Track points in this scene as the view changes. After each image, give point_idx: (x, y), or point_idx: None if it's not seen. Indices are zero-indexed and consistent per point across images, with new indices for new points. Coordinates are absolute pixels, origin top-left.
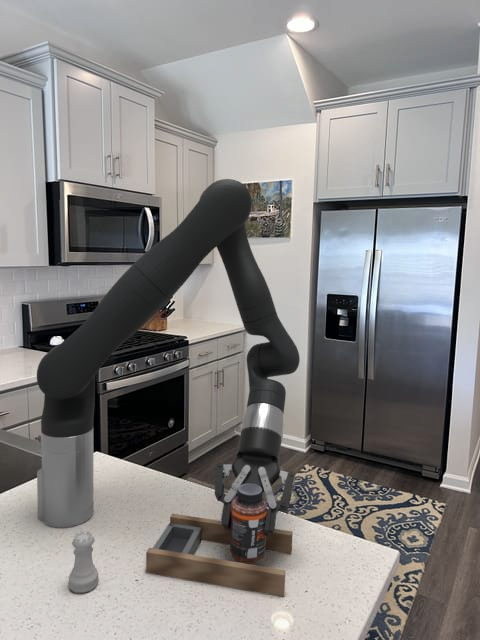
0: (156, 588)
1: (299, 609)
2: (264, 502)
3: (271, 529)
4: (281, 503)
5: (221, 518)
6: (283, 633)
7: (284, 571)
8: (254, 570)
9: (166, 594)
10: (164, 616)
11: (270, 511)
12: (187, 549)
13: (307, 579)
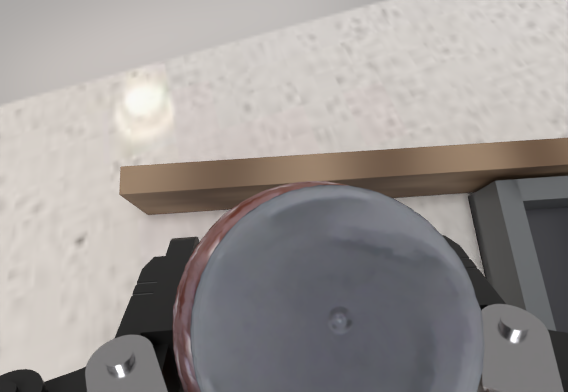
0: (505, 114)
1: (99, 158)
2: (191, 352)
3: (156, 258)
4: (33, 382)
5: (460, 248)
6: (136, 71)
7: (123, 187)
8: (232, 159)
9: (467, 102)
10: (429, 38)
11: (148, 320)
12: (516, 233)
13: (75, 299)
